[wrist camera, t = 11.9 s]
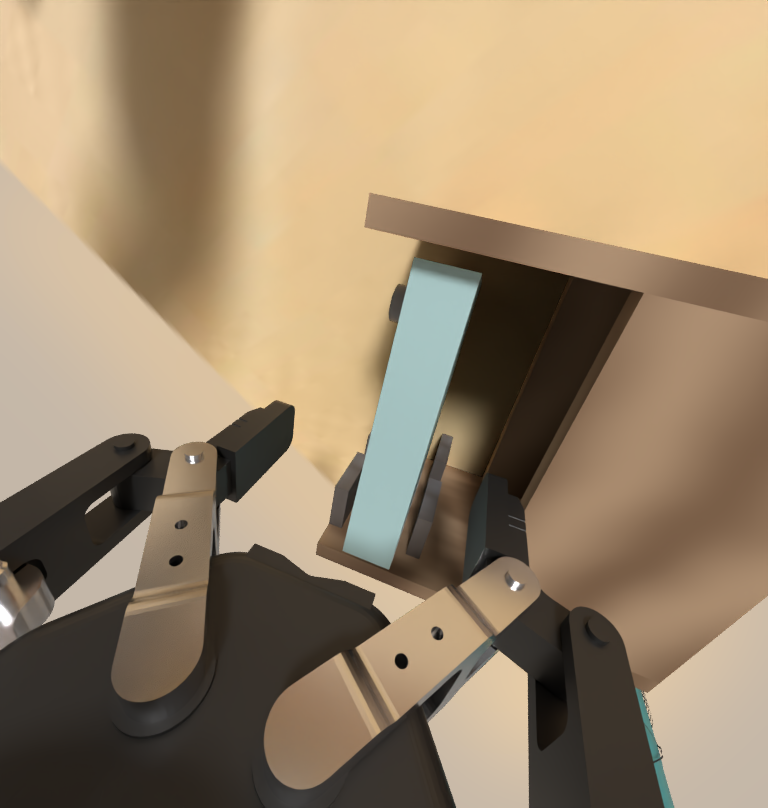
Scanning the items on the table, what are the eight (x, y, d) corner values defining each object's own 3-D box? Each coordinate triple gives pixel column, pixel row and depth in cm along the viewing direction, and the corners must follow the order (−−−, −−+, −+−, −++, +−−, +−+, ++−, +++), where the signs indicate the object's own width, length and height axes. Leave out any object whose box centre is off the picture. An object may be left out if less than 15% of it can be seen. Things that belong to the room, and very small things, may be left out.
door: (375, 457, 27) (320, 542, 18) (424, 269, 22) (383, 249, 13) (421, 473, 26) (389, 569, 17) (481, 283, 21) (482, 273, 12)
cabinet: (375, 451, 29) (316, 554, 20) (430, 212, 21) (369, 192, 11) (594, 527, 26) (647, 692, 17) (766, 285, 18) (1076, 345, 8)
